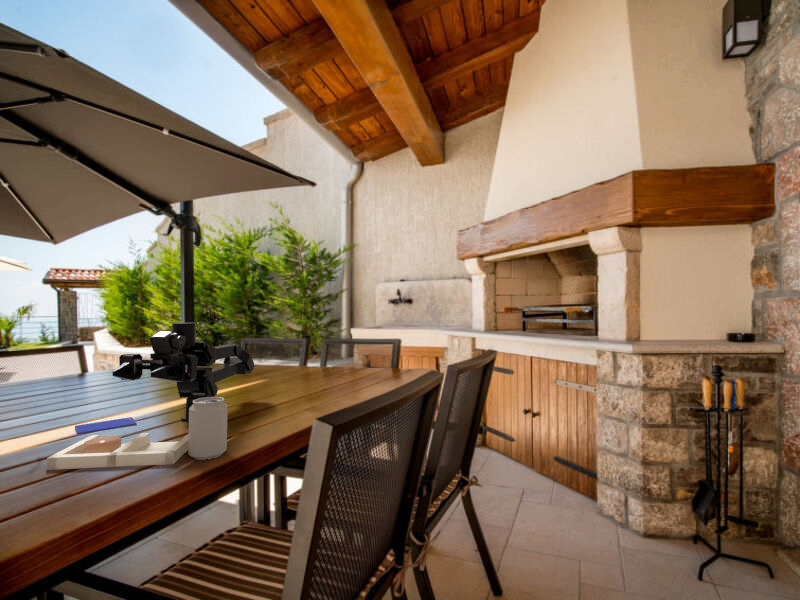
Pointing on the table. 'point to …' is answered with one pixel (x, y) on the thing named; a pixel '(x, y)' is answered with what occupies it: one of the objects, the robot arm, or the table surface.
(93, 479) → the table surface
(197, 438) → the can
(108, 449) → the terracotta dish
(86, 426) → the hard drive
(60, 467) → the divider tray
